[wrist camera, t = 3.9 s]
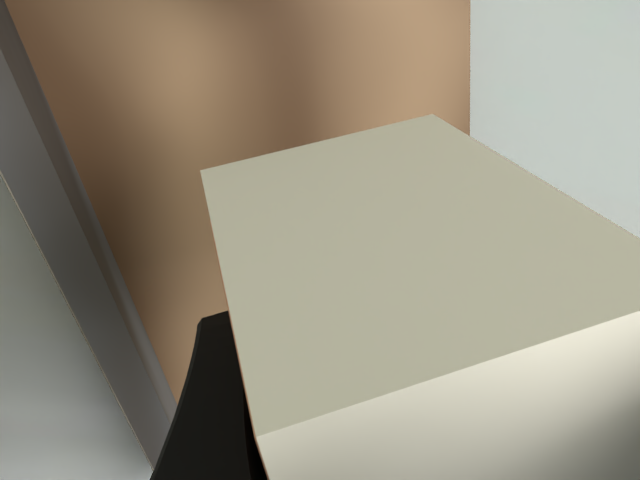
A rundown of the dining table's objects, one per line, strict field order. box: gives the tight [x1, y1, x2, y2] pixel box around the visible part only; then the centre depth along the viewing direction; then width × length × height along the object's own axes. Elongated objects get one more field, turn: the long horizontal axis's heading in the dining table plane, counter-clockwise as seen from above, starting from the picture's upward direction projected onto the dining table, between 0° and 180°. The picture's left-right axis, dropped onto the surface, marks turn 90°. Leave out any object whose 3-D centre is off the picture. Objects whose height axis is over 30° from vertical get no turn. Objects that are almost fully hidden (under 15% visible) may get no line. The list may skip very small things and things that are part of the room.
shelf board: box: [0, 0, 470, 471], centre depth 17 cm, size 14×25×4 cm, turn 8°
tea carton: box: [200, 114, 640, 480], centre depth 9 cm, size 5×6×6 cm
